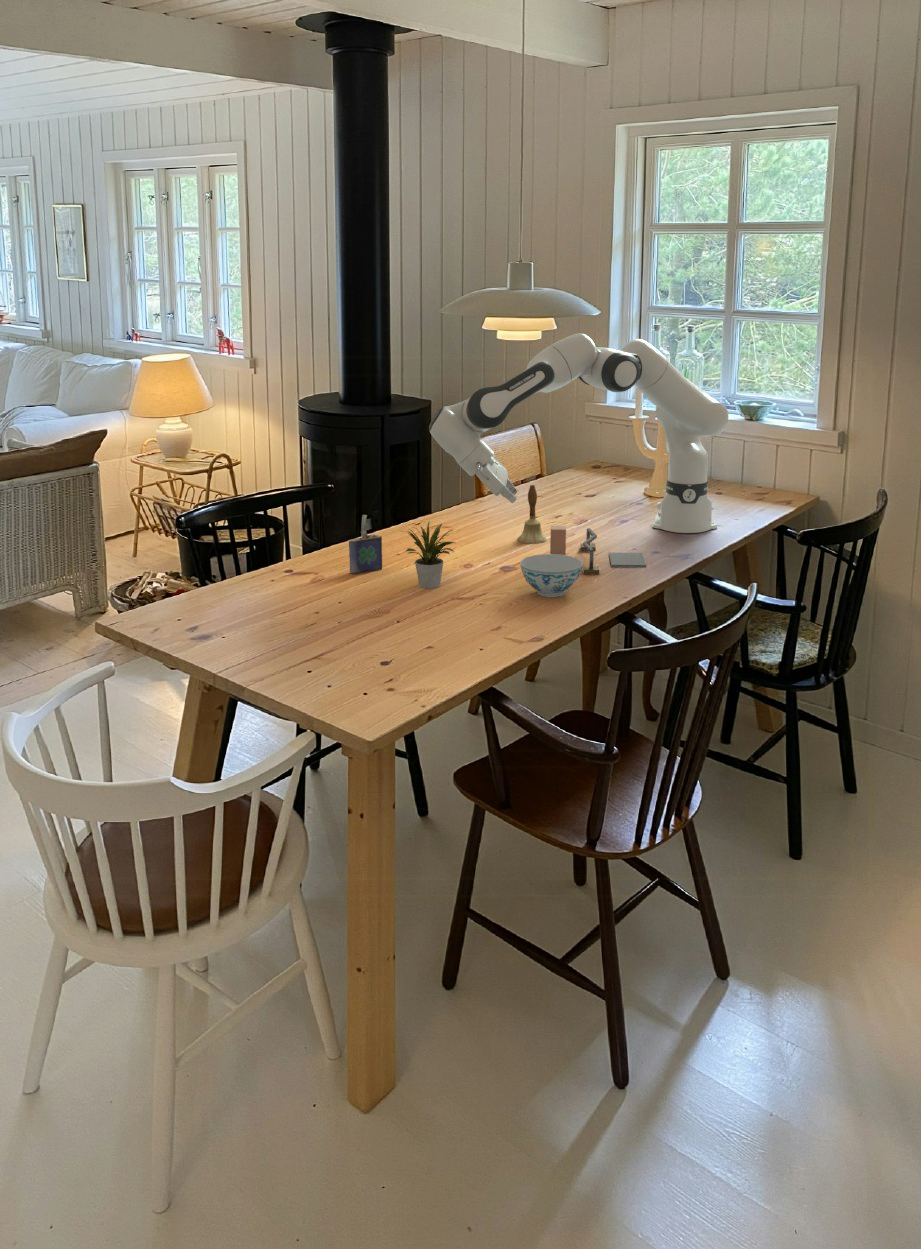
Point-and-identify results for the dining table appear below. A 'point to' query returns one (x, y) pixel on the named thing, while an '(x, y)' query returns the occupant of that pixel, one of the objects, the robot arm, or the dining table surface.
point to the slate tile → (627, 559)
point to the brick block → (558, 540)
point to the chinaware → (551, 573)
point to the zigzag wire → (591, 548)
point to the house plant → (429, 557)
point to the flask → (365, 553)
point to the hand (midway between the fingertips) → (515, 497)
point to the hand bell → (532, 522)
